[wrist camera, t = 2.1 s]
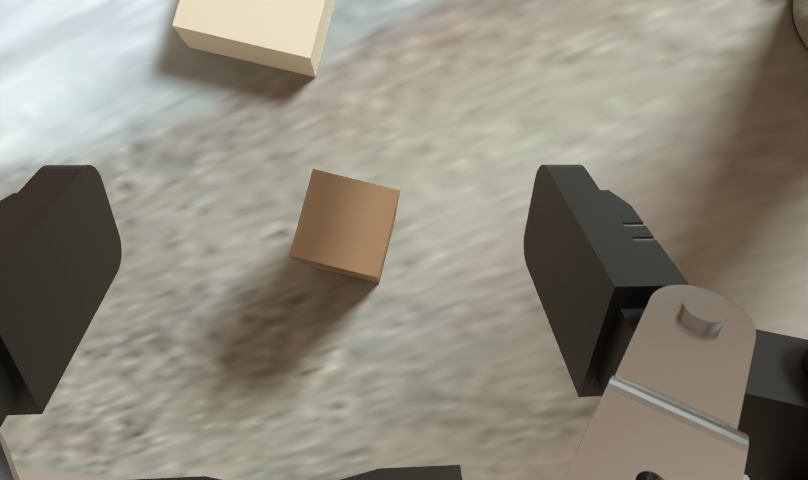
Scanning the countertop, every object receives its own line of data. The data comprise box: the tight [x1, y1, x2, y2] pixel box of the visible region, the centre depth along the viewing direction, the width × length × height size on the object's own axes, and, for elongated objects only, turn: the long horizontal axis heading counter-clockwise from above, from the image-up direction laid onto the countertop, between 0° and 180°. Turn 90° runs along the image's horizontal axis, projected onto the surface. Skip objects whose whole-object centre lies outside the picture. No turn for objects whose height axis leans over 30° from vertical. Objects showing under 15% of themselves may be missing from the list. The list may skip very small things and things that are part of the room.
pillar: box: [290, 169, 400, 284], centre depth 33 cm, size 4×4×10 cm
